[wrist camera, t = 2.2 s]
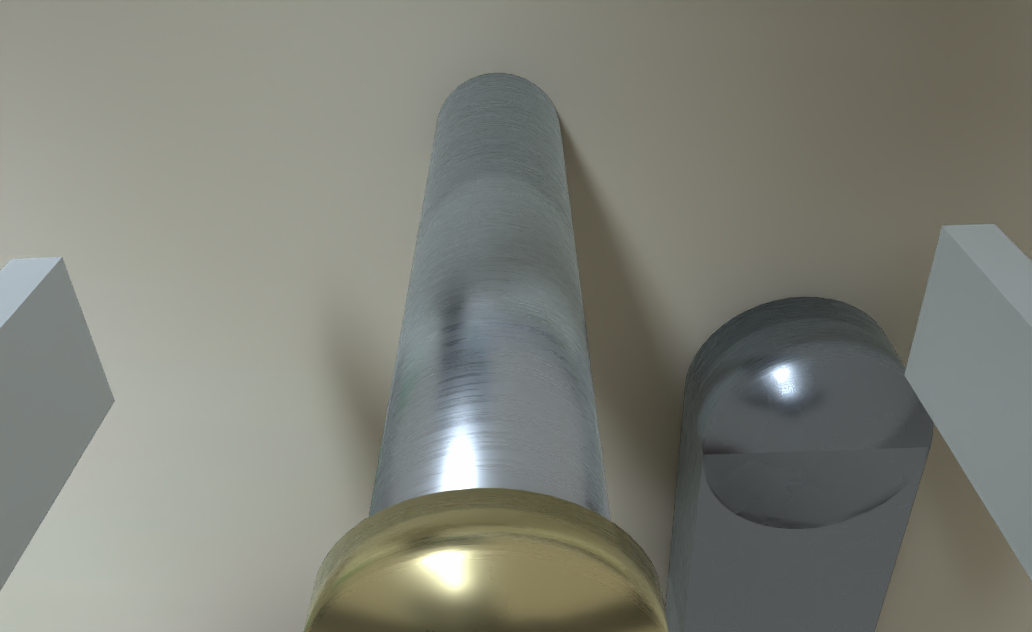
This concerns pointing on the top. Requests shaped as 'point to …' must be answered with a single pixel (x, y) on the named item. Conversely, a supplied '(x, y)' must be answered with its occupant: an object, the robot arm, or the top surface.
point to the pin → (491, 409)
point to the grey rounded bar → (793, 473)
